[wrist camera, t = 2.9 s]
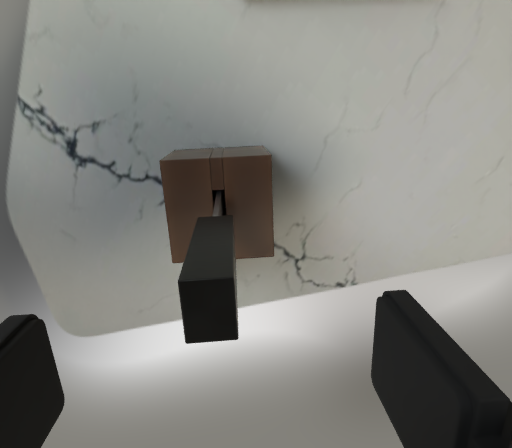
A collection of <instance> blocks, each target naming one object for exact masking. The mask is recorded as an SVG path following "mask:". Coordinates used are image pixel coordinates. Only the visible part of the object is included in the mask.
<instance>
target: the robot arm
mask: <svg viewBox="0 0 512 448" xmlns="http://www.w3.org/2000/svg"><path fill="white" fill-rule="evenodd" d="M371 378H372V383H373V386H374V388H375V390H376V392H377V394H378V396H379V398H380V400H381V402H382V404H383V406H384V408H385V410H386V412H387V414H388V416H389V418H390V420H391V422H392V424H393V426H394V428H395V430H396V432H397V434H398V436H399V438H400V440H401V442H402V444H403V446H404V448H512V402H511V401H510V399H509V398H508V397H507V396H506V395H505V394H504V393H503V392H502V391H501V390H500V389H499V387H498V386H497V385H496V384H495V383H494V382H493V381H492V380H491V379H490V378H489V377H488V376H487V375H486V374H485V373H484V372H483V371H482V370H481V369H480V368H479V366H478V365H477V364H476V363H475V362H474V361H473V360H472V359H471V358H470V357H469V356H468V355H467V354H466V353H465V352H464V351H463V350H462V348H460V347H459V345H458V344H457V343H456V342H455V341H454V340H453V339H452V338H451V337H450V336H449V335H448V334H447V333H446V332H445V331H444V330H443V329H442V327H441V326H440V325H439V324H438V323H437V322H436V321H435V320H434V319H433V318H432V317H431V316H430V315H429V314H428V313H427V312H426V311H425V309H424V308H423V307H421V305H420V304H419V303H418V302H417V301H416V300H415V299H414V298H413V297H412V296H411V295H410V294H409V293H408V292H407V291H406V290H397V291H385V292H384V293H383V295H382V297H378V298H377V302H376V316H375V329H374V343H373V357H372V370H371ZM63 406H64V394H63V390H62V386H61V382H60V379H59V375H58V371H57V368H56V363H55V360H54V356H53V353H52V349H51V345H50V341H49V337H48V334H47V330H46V326H45V323H44V321H43V320H42V319H38V317H37V316H36V315H34V314H29V315H13V316H10V317H8V318H7V319H6V320H4V321H3V322H2V323H1V324H0V448H41V446H42V444H43V443H44V441H45V439H46V438H47V436H48V434H49V432H50V431H51V429H52V427H53V425H54V424H55V422H56V420H57V419H58V417H59V415H60V413H61V411H62V409H63Z"/></svg>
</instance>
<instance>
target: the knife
mask: <svg viewBox="0 0 512 448" xmlns="http://www.w3.org/2000/svg"><path fill="white" fill-rule="evenodd" d="M224 213H225V198H224V190H217V193H216V199H215V205H214V210H213V216H208V217H198V218H197V221H196V225H195V228H194V231H193V234H192V238H191V241H190V244H189V247H188V251H187V254H186V257H185V260H184V263H183V267H182V270H181V273H180V276H179V280H178V286H179V294H180V302H181V310H182V318H183V326H184V334H185V342H186V343H187V344H188V343H201V342H213V341H225V340H237V339H238V314H237V313H238V312H237V281H236V254H235V238H234V223H233V215H224Z"/></svg>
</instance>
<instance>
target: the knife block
mask: <svg viewBox="0 0 512 448" xmlns="http://www.w3.org/2000/svg"><path fill="white" fill-rule="evenodd" d="M160 169H161V177H162V184H163V192H164V200H165V208H166V216H167V223H168V231H169V239H170V247H171V255H172V262H173V263H183V262H184V260H185V257H186V254H187V251H188V247H189V244H190V241H191V238H192V234H193V231H194V228H195V225H196V221H197V218H198V217H208V216H213V210H214V205H215V199H216V193H217V190H224V189H225V202H226V208H225V213H224V215H233V223H234V238H235V254H236V259H243V258H258V257H273V256H274V230H273V194H272V158H271V154H270V153H269V152H268V151H267V150H266V149H265V148H264V146H245V147H225V148H205V149H185V150H174V151H173V152H171V153H170V154H168V155H167V156H166V157H164V158H163V159H161V160H160Z"/></svg>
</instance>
